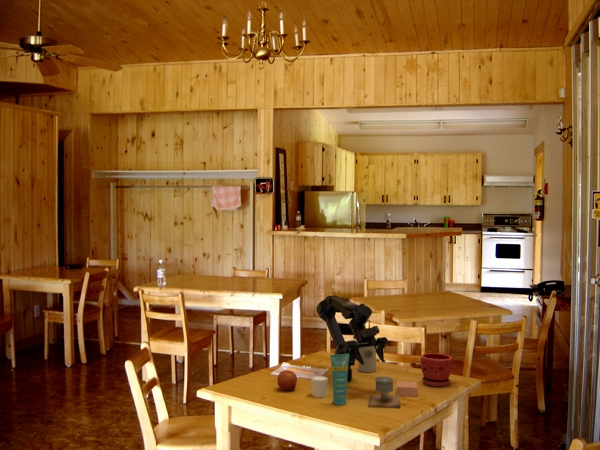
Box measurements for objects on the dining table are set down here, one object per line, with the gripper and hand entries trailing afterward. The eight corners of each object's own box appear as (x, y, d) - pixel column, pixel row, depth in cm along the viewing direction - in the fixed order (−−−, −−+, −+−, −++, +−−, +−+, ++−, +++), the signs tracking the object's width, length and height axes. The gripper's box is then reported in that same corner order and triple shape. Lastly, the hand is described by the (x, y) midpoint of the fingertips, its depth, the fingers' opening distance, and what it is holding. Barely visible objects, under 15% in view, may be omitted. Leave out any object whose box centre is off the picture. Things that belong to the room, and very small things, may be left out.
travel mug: (359, 367, 283) (359, 330, 283) (376, 368, 282) (376, 330, 281) (358, 372, 276) (357, 333, 275) (375, 373, 274) (375, 334, 273)
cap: (375, 392, 230) (375, 381, 230) (375, 386, 237) (375, 376, 237) (393, 392, 229) (393, 381, 229) (392, 387, 236) (392, 376, 236)
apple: (283, 385, 256) (283, 367, 256) (301, 388, 252) (301, 369, 252) (274, 390, 249) (274, 371, 249) (292, 393, 245) (291, 374, 245)
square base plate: (368, 406, 228) (368, 386, 228) (369, 397, 240) (369, 377, 240) (400, 408, 226) (400, 387, 226) (399, 398, 238) (399, 378, 238)
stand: (397, 395, 241) (397, 387, 241) (396, 389, 249) (396, 381, 249) (417, 396, 240) (417, 387, 240) (416, 390, 248) (416, 381, 248)
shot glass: (330, 393, 245) (330, 376, 245) (325, 398, 238) (325, 381, 238) (314, 392, 247) (313, 375, 247) (308, 397, 241) (308, 379, 240)
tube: (332, 406, 229) (332, 356, 229) (329, 402, 234) (328, 353, 234) (351, 404, 231) (350, 354, 231) (347, 400, 236) (347, 351, 235)
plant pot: (452, 388, 250) (452, 360, 249) (420, 386, 253) (420, 358, 252) (452, 380, 262) (452, 352, 262) (421, 378, 265) (421, 351, 265)
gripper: (346, 321, 241) (359, 354, 231) (385, 317, 248) (400, 349, 239) (337, 337, 248) (350, 370, 239) (376, 332, 256) (390, 364, 246)
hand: (373, 363), depth 240 cm, fingers open, 9 cm apart
